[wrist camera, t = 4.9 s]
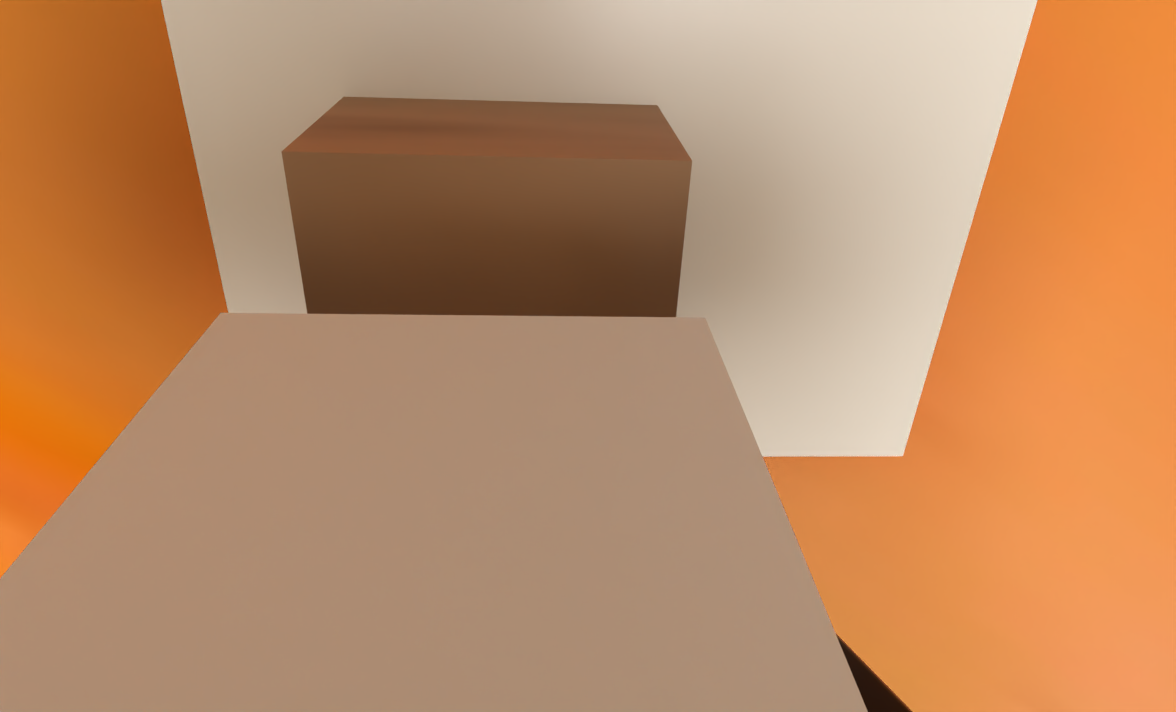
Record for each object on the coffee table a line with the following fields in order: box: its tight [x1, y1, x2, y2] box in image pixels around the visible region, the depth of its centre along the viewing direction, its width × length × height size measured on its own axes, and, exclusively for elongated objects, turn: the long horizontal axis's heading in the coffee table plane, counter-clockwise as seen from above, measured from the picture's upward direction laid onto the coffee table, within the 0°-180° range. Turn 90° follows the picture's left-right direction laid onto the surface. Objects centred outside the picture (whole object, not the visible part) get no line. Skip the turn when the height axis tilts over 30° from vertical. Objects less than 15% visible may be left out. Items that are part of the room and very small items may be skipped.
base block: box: [281, 97, 692, 317], centre depth 14 cm, size 6×6×4 cm
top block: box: [0, 313, 868, 712], centre depth 7 cm, size 5×5×5 cm
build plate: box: [161, 0, 1037, 456], centre depth 17 cm, size 11×16×1 cm
